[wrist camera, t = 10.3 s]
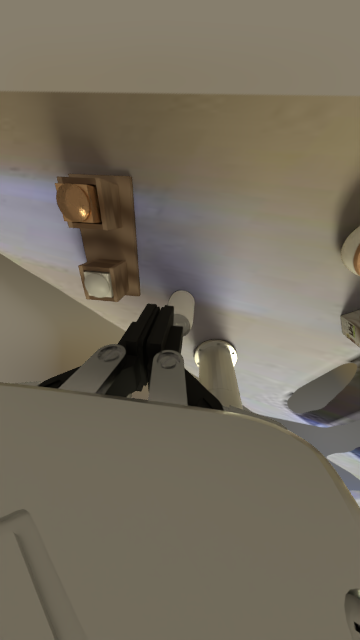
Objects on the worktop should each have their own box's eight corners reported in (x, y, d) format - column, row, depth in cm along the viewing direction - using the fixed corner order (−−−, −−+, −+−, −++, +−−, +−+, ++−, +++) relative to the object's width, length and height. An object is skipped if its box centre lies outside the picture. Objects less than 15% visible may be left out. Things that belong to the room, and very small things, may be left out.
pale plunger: (123, 286, 44) (110, 298, 37) (104, 284, 44) (87, 296, 37) (121, 265, 41) (106, 275, 35) (100, 264, 41) (81, 273, 35)
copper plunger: (112, 221, 35) (91, 223, 28) (87, 220, 35) (61, 221, 29) (108, 190, 32) (84, 184, 26) (81, 189, 33) (52, 182, 26)
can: (197, 309, 47) (196, 336, 36) (173, 314, 48) (166, 341, 38) (191, 287, 44) (187, 309, 33) (166, 293, 45) (156, 315, 35)
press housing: (140, 294, 46) (129, 308, 39) (96, 290, 47) (77, 303, 40) (132, 177, 34) (113, 167, 27) (72, 175, 35) (39, 164, 28)
